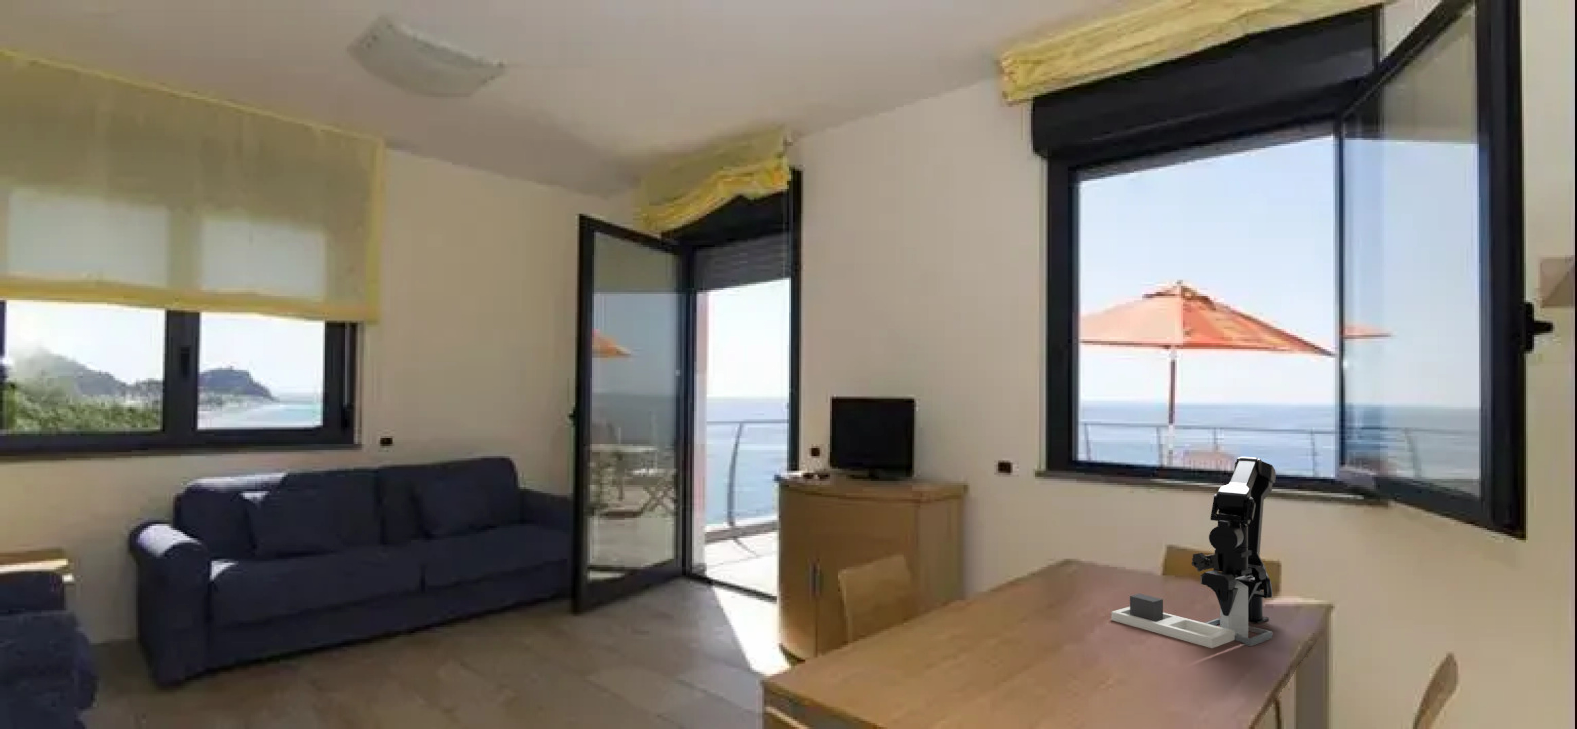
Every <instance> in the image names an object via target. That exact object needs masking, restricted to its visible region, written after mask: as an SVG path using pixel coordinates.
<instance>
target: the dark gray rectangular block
mask: <svg viewBox="0 0 1577 729" xmlns="http://www.w3.org/2000/svg"><path fill="white" fill-rule="evenodd" d="M1129 607H1130V615H1132V616H1136V617H1139V618H1143V619H1147V620H1151V621H1154V622H1157V621H1160V620H1163V613H1164V599H1163V598H1159V597H1155V596H1151V595H1147V594H1142V593H1137V594H1132V595H1130V596H1129Z"/></svg>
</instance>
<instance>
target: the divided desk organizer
mask: <svg viewBox="0 0 1577 729" xmlns="http://www.w3.org/2000/svg"><path fill="white" fill-rule="evenodd" d="M1110 614H1111V621H1113V622H1116V623H1120V624H1124V625H1127V626H1131V627H1134V628H1137V629H1141V630H1145V631H1149V632H1151V633H1152V632H1153V633H1156V634H1160V635H1164V636H1166V637H1170V638H1173V639H1178V640H1181V641H1185V642H1188V643H1191V644H1195V645H1199V646H1203V647H1206V648H1210V649H1214V648H1217V647H1219V646H1221V645H1225V644H1227V643H1230V642H1234V641H1236V640H1235V631H1234V630H1230V629H1226V628H1222V627H1220V626H1218V625H1215V626H1214V625H1210V624H1206V622H1202V621H1199V620H1194V619H1190V618H1186V617H1182V616H1178V615H1175V614H1170V613H1167V612H1163V620H1160V621H1157V622H1154V621H1151V620H1147V619H1143V618H1139V617H1136V616H1132V615H1130V606H1126V607H1124V608H1123V607H1122V608H1119V609H1116V610H1113V611H1111V612H1110Z"/></svg>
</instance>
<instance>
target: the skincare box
mask: <svg viewBox="0 0 1577 729" xmlns="http://www.w3.org/2000/svg"><path fill="white" fill-rule="evenodd" d="M1234 588H1238V591H1237V594H1236V597H1235V600H1234V603H1233V606H1232V609H1231V611H1230V614H1229V616H1224V615H1223V613H1222V610H1221V607H1220V606H1219V608H1220V609H1219V611H1220V612H1219V616H1220V624H1219V625H1220V626H1219V627H1222V628H1226V629H1230V630H1234V631H1235V635H1239V636H1243V637H1247V638H1249V631H1248V626H1249V622H1248V586H1246V585H1244V584H1243V583H1241V582H1240V581H1236V585H1235V587H1234Z"/></svg>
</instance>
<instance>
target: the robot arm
mask: <svg viewBox="0 0 1577 729" xmlns="http://www.w3.org/2000/svg"><path fill="white" fill-rule="evenodd" d="M1233 469H1234V471H1233V473H1232V475H1231V477H1230V480H1229V483H1228V484H1226V485H1221V486H1220V487H1219V489H1218V490H1217V493H1215V494H1214V496H1213V501H1212V506H1211V507H1212V508H1211V512H1210V519H1209V520H1210V521H1215V522H1217V526H1214V528H1212V529H1211V530H1210V532H1209V534H1208V540H1209V543H1210V545H1211V546H1212V547H1213V548H1214V553H1212V554H1208V555H1207V554H1204V552H1199V553H1193V554H1192V558H1191V561H1192V562H1191V565H1192V566H1193V567H1194V568H1196V572H1202V571H1204V572H1203V573H1202V574H1200V585H1204V586H1206V587H1207V588H1210V589H1211V590H1212V591H1213V592H1214V594H1215V596H1216V598H1217V601H1218V604H1219V608H1220V607H1221V610H1222V613H1223V615H1224V616H1229V614H1230V611H1231V609H1232V606H1233V603H1234V600H1235V597H1236V594H1237V591H1238V588H1234V587H1235V585H1236V581H1240V582H1241V583H1243V584H1244V585H1246V586H1248V623H1251V624H1257V625H1258V624H1261V623H1264V622H1267V621H1269V620H1270V617H1268V616H1265V615H1264V604H1263V603H1264V600H1263V599H1269V598H1273V587H1272V581H1271V579H1270V578H1269V577H1270V576H1269V574H1268V572H1267V568H1266V566H1265V564H1264V562H1263V560H1262V559H1261V557H1260V554H1261V541H1262V528H1263V513H1264V502H1265V501H1264V500H1265V499H1266V498H1267V497H1268V496H1269V495H1270V494H1271V493H1272V491H1273V484H1275V483H1276V478H1277V476H1276V474H1277V473H1276V469H1275V468H1274V466H1273V464H1270V463H1268V462H1265V461H1263V460H1262V459H1261V458H1258V457H1250V456H1240V457H1237V458H1236V461H1235V462H1234V467H1233ZM1209 569H1210V570H1209ZM1211 569H1212V570H1211ZM1205 570H1207V571H1205Z"/></svg>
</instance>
